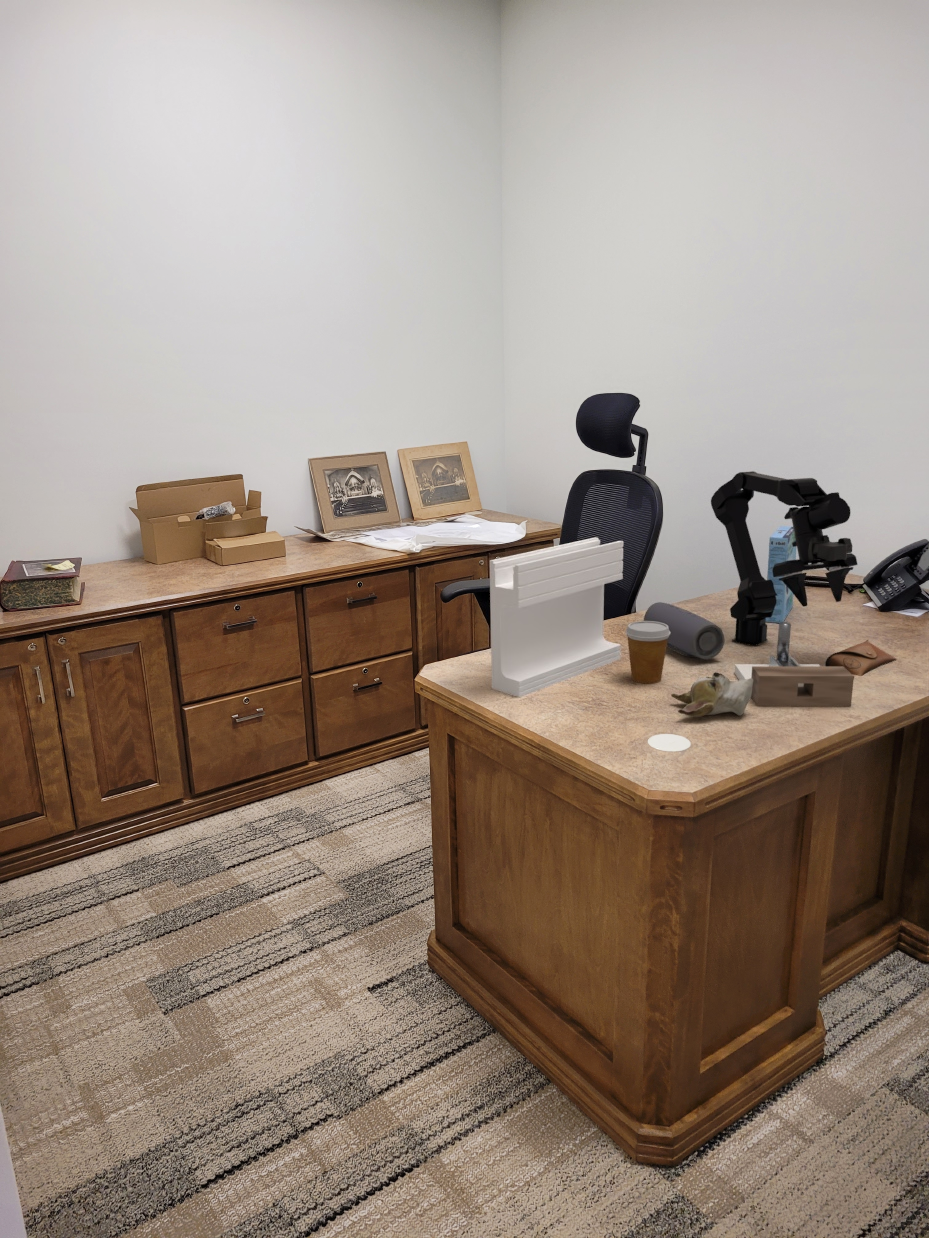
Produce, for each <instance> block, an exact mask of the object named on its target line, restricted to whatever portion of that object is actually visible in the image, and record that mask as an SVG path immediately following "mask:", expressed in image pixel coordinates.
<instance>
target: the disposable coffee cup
mask: <svg viewBox="0 0 929 1238" xmlns="http://www.w3.org/2000/svg"><path fill="white" fill-rule="evenodd" d="M670 633H671V632H670V631H669V628H668V625H666V624H664V623H661V622H655V621H644V620H640V621H639V620H638V621H637V620H636V621H633V622H629V624H627V627H626V630H625V634H626V637H627V643H628V654H629V664H630V674H631V679H632V681H634V682H635V683H640V684H656V683H659V682H661V681H662V677H663V669H664V663H665V658H666V653H667V652H666V651H667V647H668V646H667V641H668V637H669V635H670Z"/></svg>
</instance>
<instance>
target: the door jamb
mask: <svg viewBox="0 0 929 1238" xmlns="http://www.w3.org/2000/svg"><path fill="white" fill-rule="evenodd" d="M854 677H855V675H852V674H851V673H850V672H849V671H848V670H847V669H845V668H844V667H843V666H824V665H823V666H821V665H820V666H752V676H751V678H752V679H753V686H752V694H751V698H752V699H751V700H753V702H754V703H755V706H757V707H852V701H853V700H852V699H853V690H854V689H853V688H854ZM798 683H804V686H803V687H798Z"/></svg>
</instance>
